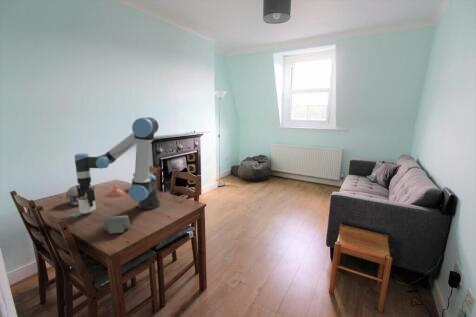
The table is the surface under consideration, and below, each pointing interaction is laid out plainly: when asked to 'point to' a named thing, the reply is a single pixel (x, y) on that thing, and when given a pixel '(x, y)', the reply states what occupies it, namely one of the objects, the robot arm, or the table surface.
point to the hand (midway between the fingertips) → (87, 210)
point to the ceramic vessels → (116, 192)
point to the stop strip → (78, 214)
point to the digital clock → (116, 224)
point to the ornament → (73, 195)
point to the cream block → (84, 204)
